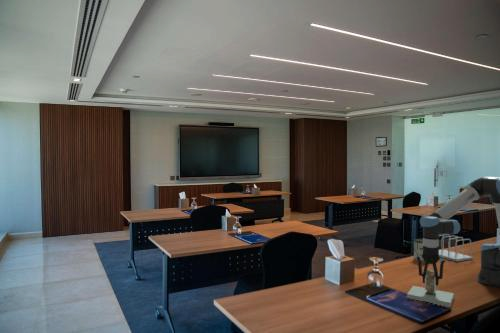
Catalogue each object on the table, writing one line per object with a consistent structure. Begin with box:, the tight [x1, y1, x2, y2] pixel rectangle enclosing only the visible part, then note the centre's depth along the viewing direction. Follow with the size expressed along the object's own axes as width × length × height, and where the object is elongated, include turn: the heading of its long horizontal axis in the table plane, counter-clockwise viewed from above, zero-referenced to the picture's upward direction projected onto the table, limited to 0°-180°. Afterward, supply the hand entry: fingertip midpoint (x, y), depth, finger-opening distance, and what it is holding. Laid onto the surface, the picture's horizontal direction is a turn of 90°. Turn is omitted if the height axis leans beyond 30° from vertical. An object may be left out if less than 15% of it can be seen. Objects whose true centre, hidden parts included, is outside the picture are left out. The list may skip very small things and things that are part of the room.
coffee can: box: [413, 238, 425, 262], centre depth 261 cm, size 10×10×14 cm
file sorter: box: [439, 234, 474, 262], centre depth 268 cm, size 25×17×16 cm
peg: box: [426, 269, 435, 296], centre depth 188 cm, size 5×5×14 cm
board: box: [406, 285, 455, 308], centre depth 188 cm, size 20×15×2 cm
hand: (430, 290), depth 188 cm, fingers closed on peg, 4 cm apart
